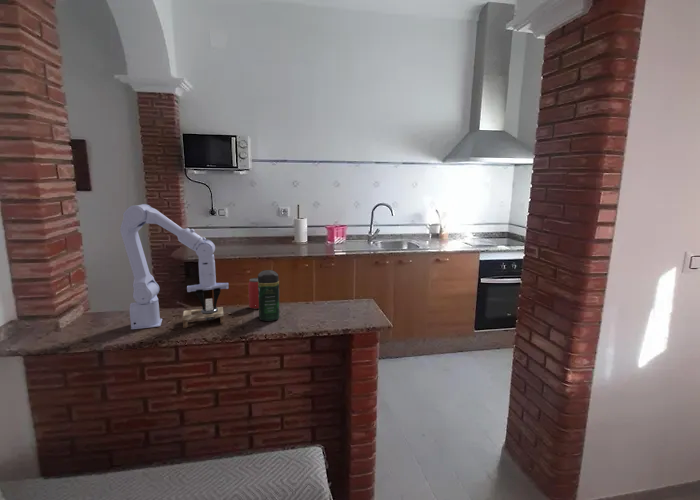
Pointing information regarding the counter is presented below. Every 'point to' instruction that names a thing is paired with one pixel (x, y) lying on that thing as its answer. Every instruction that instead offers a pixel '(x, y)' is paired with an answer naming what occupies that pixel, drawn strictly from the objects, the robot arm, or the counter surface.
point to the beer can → (253, 293)
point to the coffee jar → (268, 295)
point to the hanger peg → (209, 309)
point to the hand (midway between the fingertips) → (209, 308)
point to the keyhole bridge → (201, 315)
